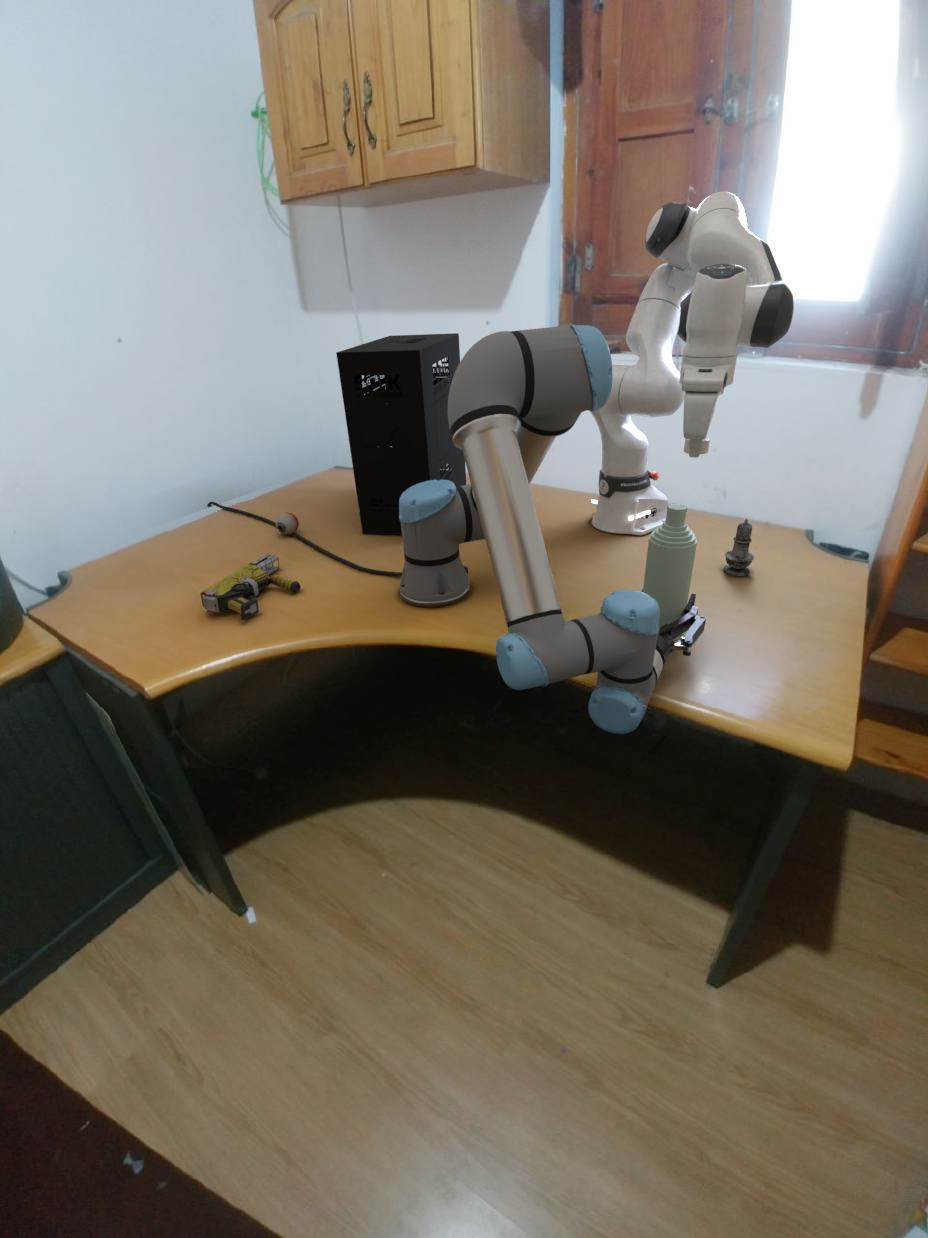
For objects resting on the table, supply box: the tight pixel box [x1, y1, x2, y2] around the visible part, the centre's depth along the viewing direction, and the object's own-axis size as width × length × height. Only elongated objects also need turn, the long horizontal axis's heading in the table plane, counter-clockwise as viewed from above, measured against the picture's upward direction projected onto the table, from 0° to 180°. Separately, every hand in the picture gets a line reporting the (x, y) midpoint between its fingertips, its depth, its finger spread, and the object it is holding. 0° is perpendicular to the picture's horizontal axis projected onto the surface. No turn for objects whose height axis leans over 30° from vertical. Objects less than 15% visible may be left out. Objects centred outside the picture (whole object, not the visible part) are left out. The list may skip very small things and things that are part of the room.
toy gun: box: [199, 552, 301, 621], centre depth 133 cm, size 5×24×15 cm
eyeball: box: [275, 511, 300, 536], centre depth 163 cm, size 6×6×6 cm
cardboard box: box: [335, 332, 467, 536], centre depth 165 cm, size 38×20×45 cm, turn 167°
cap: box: [683, 436, 711, 455], centre depth 111 cm, size 4×4×2 cm
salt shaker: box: [723, 518, 755, 577], centre depth 129 cm, size 6×6×12 cm
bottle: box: [642, 503, 698, 642], centre depth 105 cm, size 8×8×25 cm
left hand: (668, 596), depth 112 cm, fingers closed on bottle, 8 cm apart
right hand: (695, 452), depth 111 cm, fingers closed on cap, 4 cm apart
